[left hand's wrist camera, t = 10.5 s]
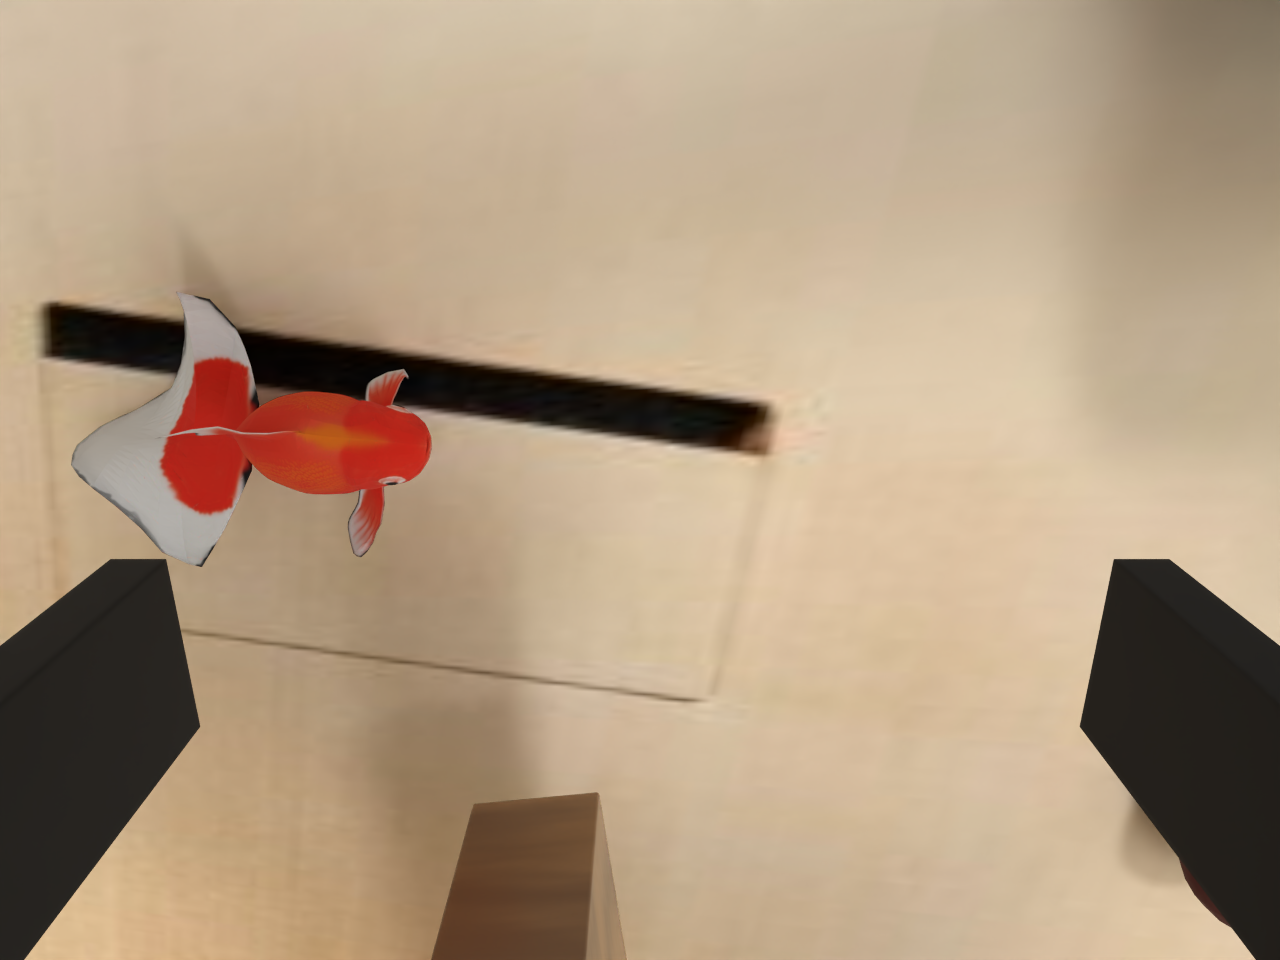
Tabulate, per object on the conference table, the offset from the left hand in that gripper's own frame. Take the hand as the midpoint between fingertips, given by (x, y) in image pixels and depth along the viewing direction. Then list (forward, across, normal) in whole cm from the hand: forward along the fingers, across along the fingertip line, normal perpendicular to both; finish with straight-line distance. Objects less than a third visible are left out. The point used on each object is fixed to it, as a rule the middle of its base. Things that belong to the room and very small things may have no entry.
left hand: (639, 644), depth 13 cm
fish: (+28, -16, -5) cm, 32 cm away
